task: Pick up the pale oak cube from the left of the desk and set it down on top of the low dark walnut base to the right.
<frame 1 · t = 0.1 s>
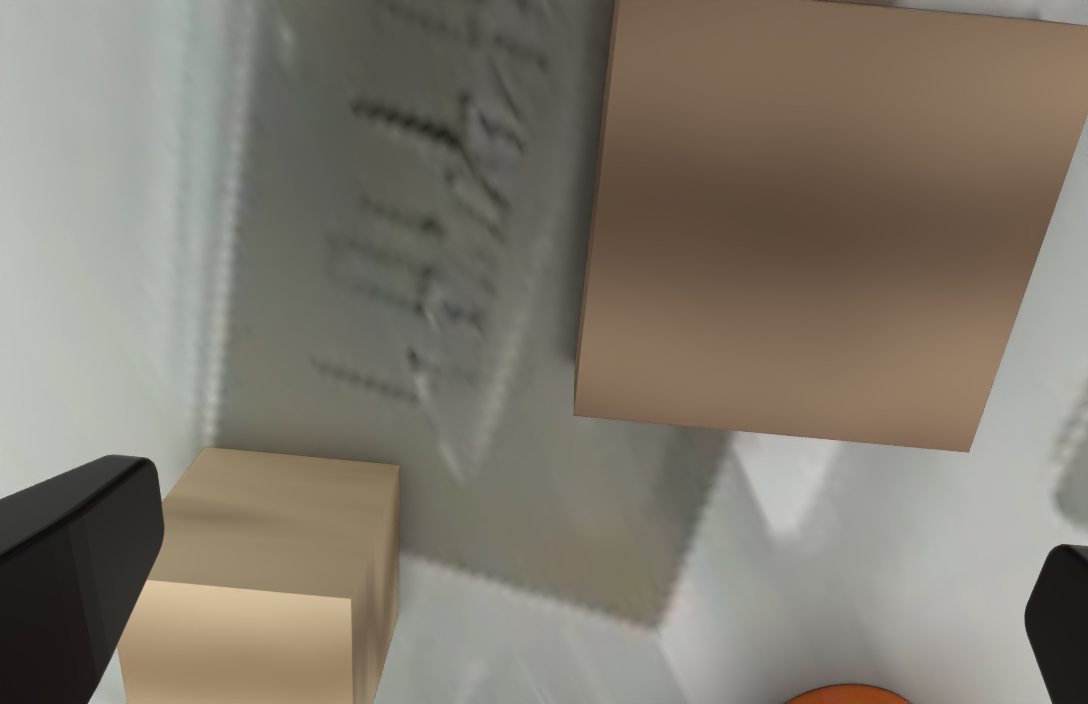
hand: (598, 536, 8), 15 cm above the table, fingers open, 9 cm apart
walnut base: (785, 209, 22), on the table
oak cube: (306, 533, 27), on the table
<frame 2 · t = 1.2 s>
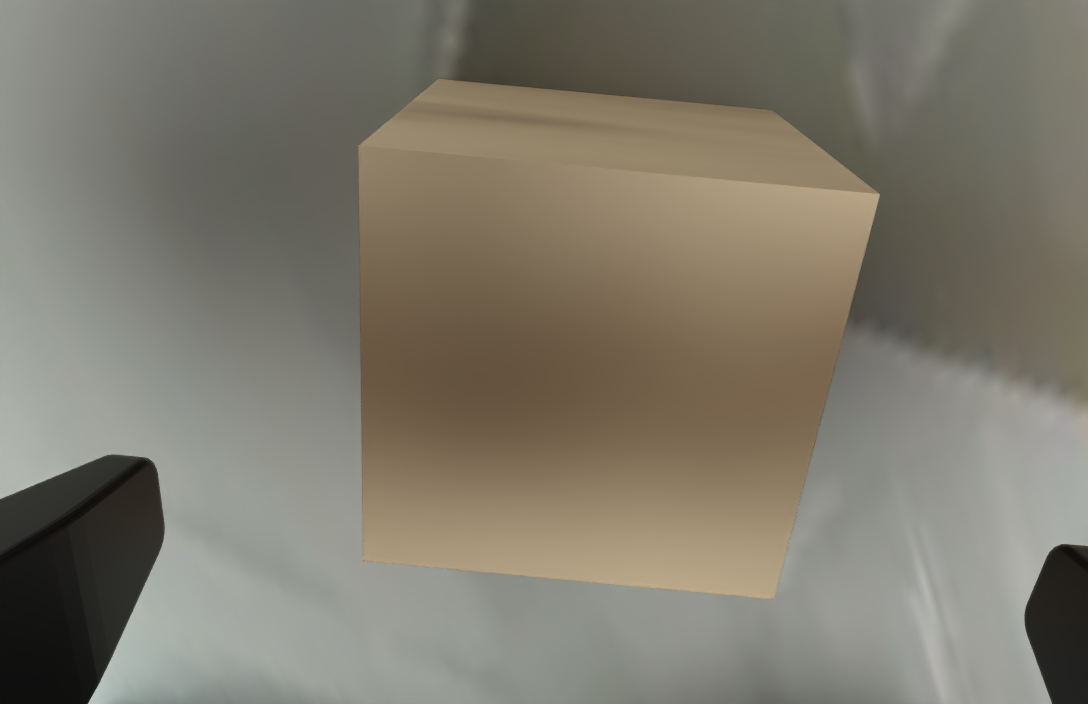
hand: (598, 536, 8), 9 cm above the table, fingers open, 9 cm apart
oak cube: (587, 252, 16), on the table
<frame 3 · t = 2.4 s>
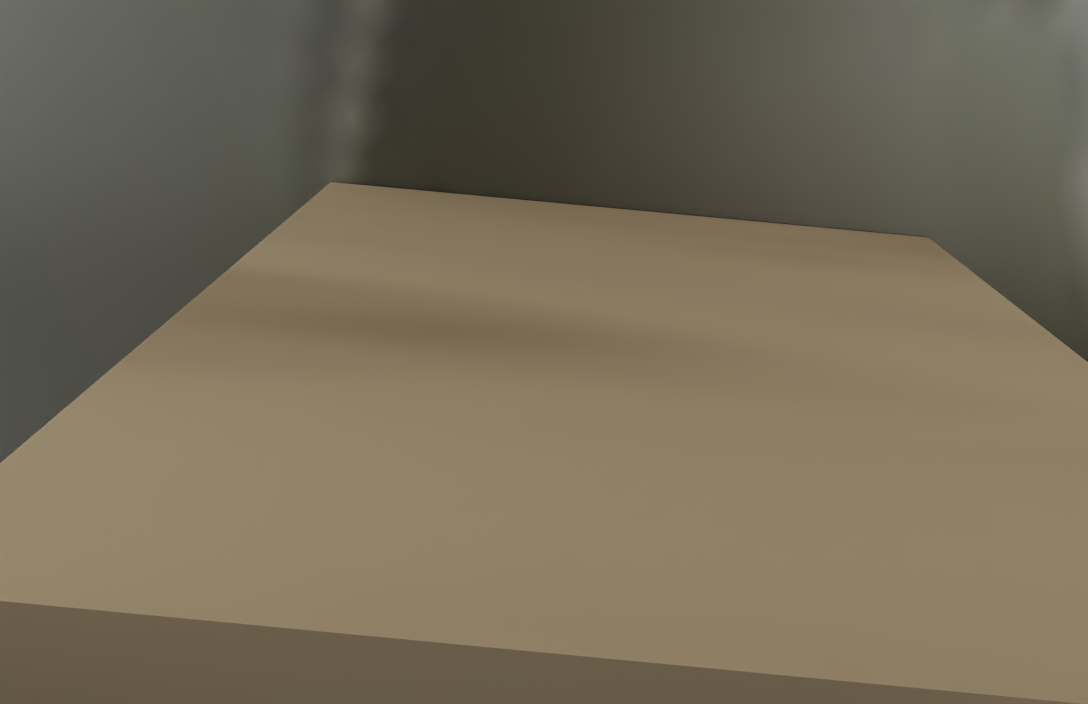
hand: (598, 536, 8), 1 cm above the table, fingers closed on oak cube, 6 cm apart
oak cube: (596, 463, 10), on the table, touching gripper
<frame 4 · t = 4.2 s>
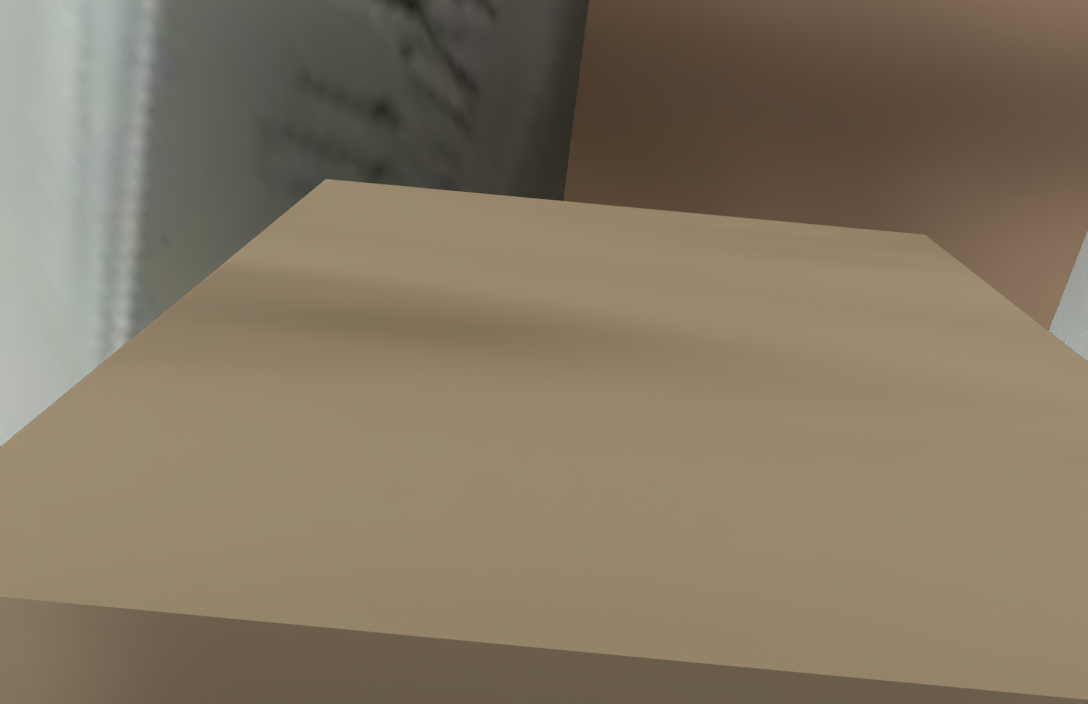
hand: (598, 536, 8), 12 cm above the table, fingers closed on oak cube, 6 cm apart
walnut base: (807, 100, 18), on the table
oak cube: (592, 461, 10), point 11 cm above the table, touching gripper
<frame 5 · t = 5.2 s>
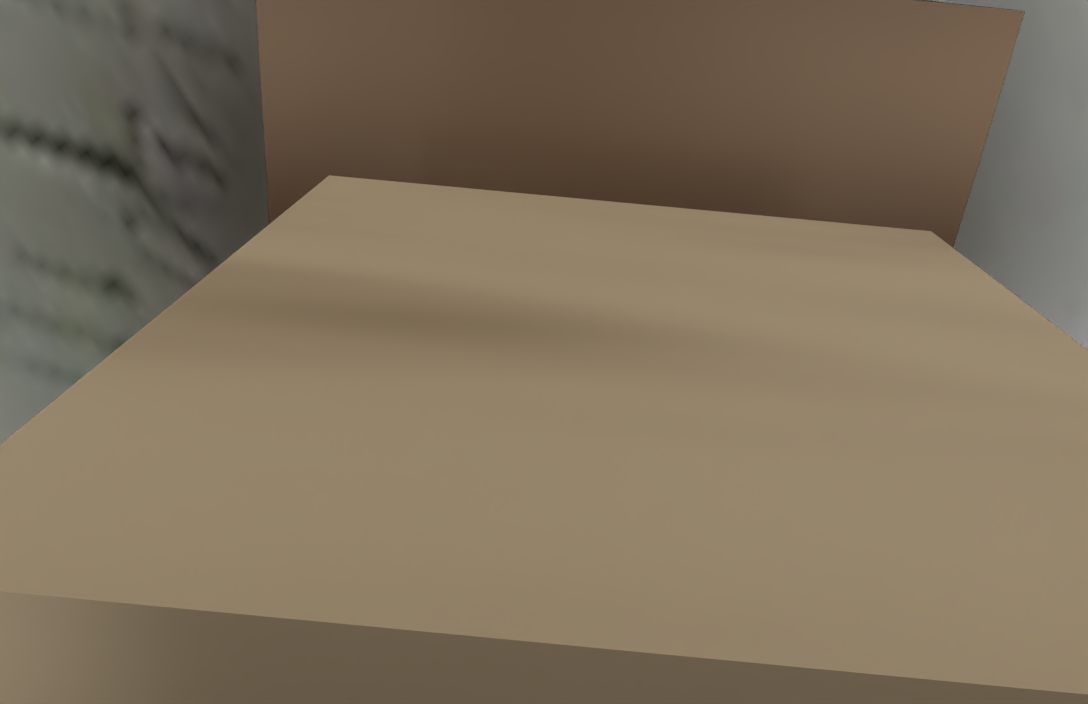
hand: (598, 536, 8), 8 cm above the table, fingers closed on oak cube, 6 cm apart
walnut base: (593, 266, 16), on the table
oak cube: (596, 459, 10), point 7 cm above the table, touching gripper
when the fingers open (6 cm above the table, at t = 6.1 s): oak cube drops 1 cm, resting on walnut base.
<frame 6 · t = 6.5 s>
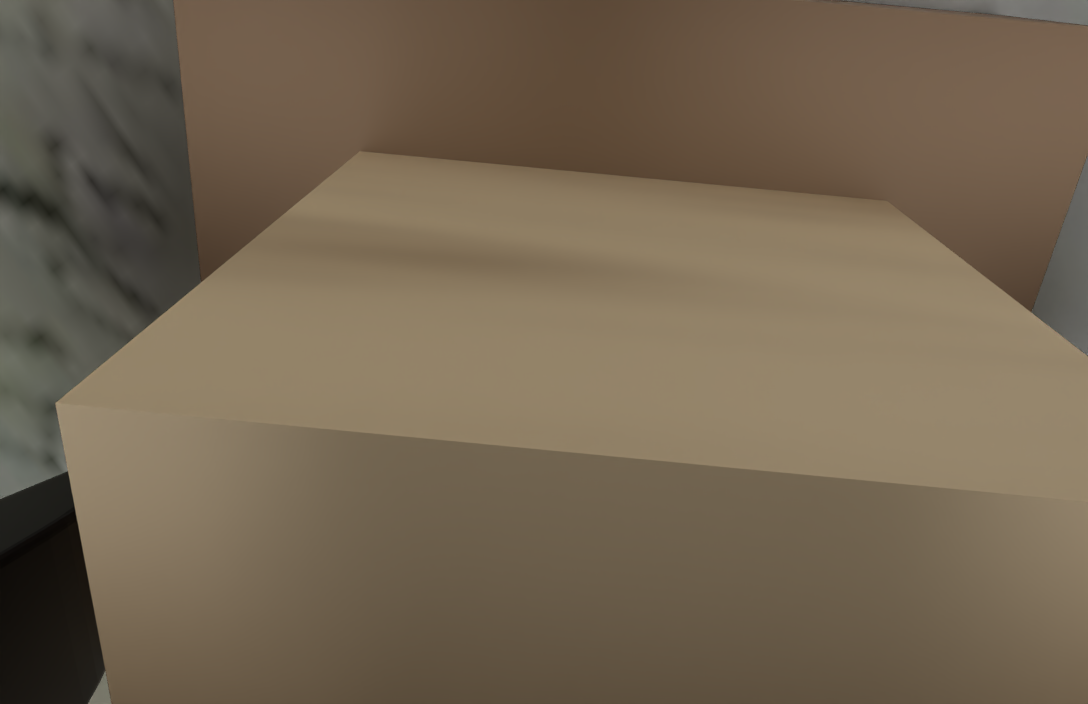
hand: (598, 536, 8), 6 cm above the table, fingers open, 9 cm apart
walnut base: (593, 319, 13), on the table
oak cube: (594, 407, 11), point 3 cm above the table, touching walnut base
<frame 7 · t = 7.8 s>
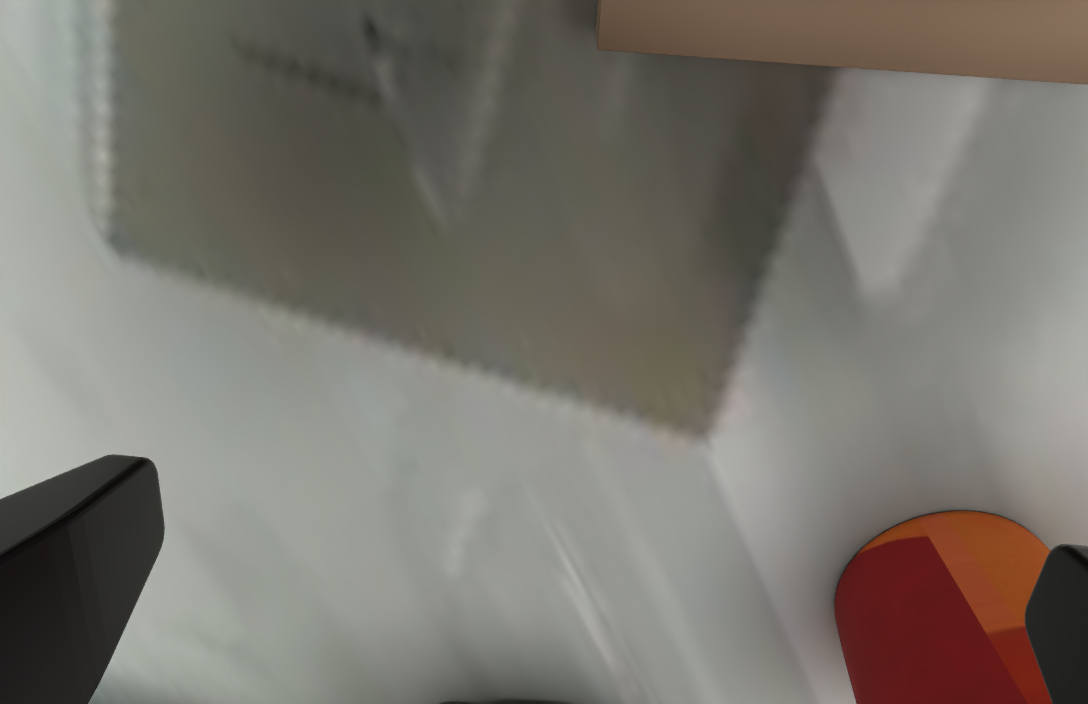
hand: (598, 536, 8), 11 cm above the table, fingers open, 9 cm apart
coffee cup: (942, 590, 23), on the table
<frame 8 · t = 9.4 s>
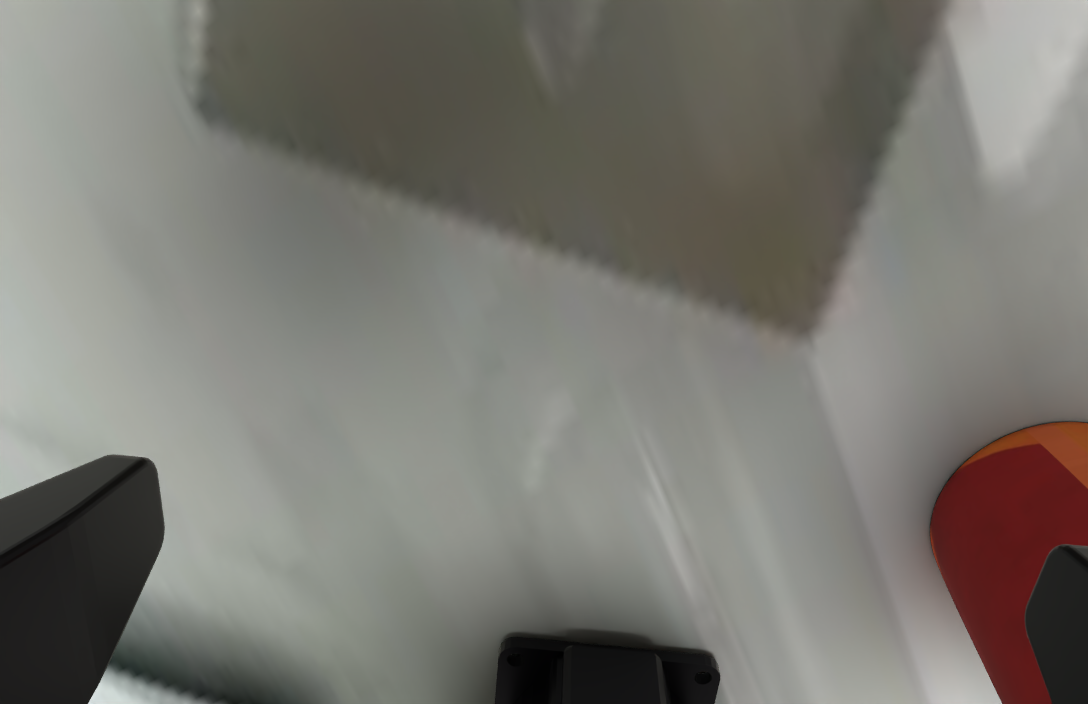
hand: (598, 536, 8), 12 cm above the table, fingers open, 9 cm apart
coffee cup: (1042, 512, 22), on the table
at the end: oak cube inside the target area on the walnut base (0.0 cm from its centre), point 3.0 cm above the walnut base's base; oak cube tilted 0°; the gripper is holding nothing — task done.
